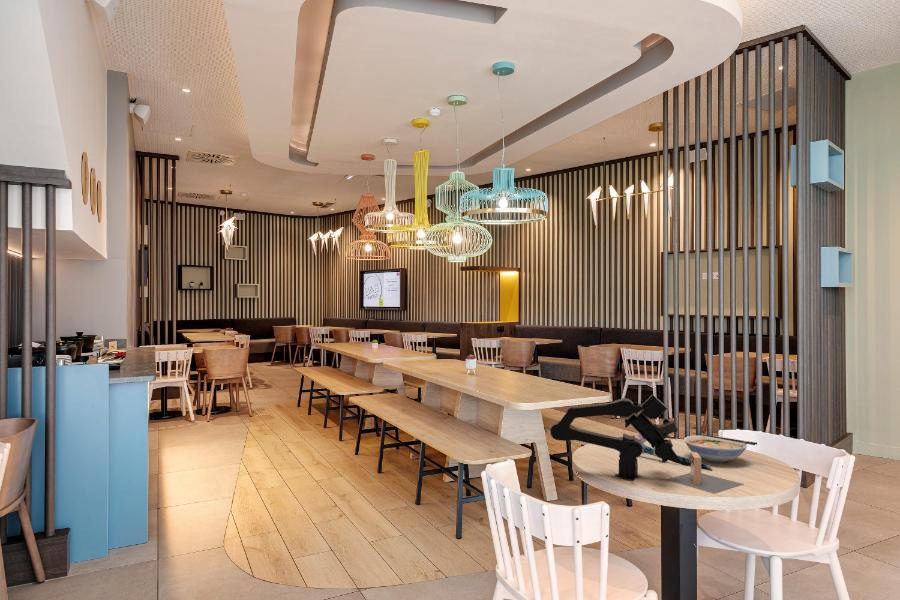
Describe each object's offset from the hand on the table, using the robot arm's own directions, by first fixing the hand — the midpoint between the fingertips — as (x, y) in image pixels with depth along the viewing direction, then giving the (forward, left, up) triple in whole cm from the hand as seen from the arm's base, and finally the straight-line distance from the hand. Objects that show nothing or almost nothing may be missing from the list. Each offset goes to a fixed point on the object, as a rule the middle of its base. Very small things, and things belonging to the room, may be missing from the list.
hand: (679, 462), depth 195 cm
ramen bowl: (+37, +9, -7) cm, 39 cm away
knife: (+18, +15, -7) cm, 25 cm away
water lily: (+24, +35, -7) cm, 43 cm away
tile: (+3, -4, -6) cm, 8 cm away
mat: (+5, -6, -7) cm, 10 cm away
